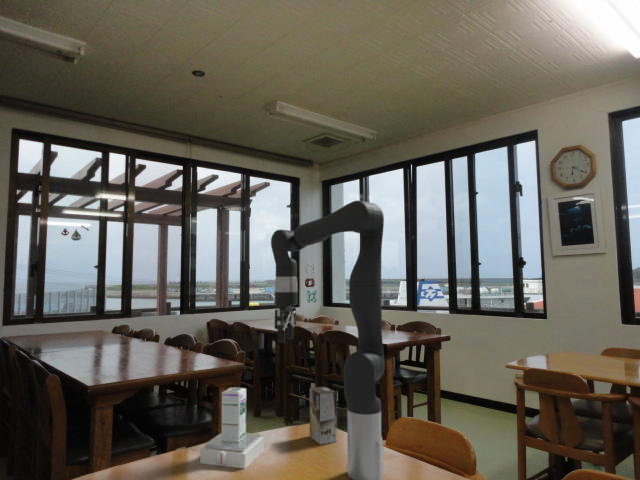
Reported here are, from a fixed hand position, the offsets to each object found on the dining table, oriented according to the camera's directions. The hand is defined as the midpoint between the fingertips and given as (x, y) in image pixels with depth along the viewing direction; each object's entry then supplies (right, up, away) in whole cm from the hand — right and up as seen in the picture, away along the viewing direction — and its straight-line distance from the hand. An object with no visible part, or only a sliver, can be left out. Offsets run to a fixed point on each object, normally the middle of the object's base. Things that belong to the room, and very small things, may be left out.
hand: (285, 340), depth 146 cm
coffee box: (+12, -34, +4) cm, 36 cm away
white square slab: (-15, -32, -11) cm, 37 cm away
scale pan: (-15, -28, -11) cm, 33 cm away
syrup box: (-15, -27, -11) cm, 33 cm away
